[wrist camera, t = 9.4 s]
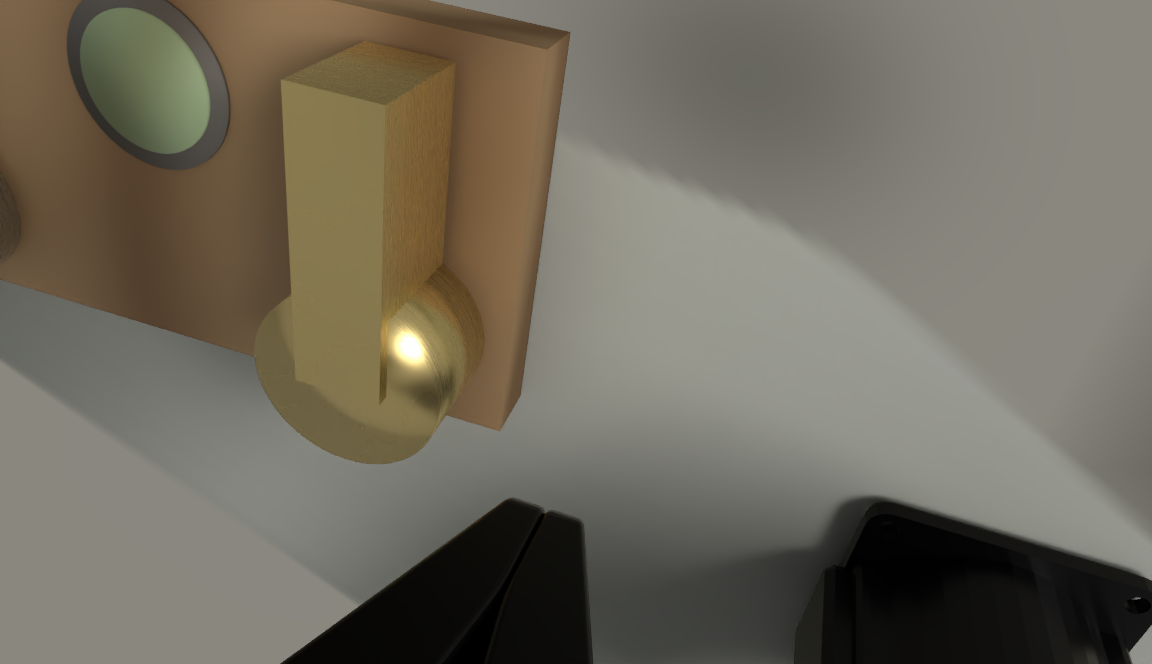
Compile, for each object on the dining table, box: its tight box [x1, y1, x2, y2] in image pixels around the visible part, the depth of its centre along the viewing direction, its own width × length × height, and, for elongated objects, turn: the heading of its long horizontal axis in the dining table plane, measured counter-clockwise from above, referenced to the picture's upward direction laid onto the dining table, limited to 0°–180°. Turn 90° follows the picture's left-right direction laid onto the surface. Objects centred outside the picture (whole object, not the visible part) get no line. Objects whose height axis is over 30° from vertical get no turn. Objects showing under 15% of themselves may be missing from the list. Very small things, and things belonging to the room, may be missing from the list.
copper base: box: [0, 0, 570, 431], centre depth 19 cm, size 17×9×2 cm, turn 81°
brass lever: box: [254, 41, 485, 464], centre depth 17 cm, size 8×4×3 cm, turn 171°
